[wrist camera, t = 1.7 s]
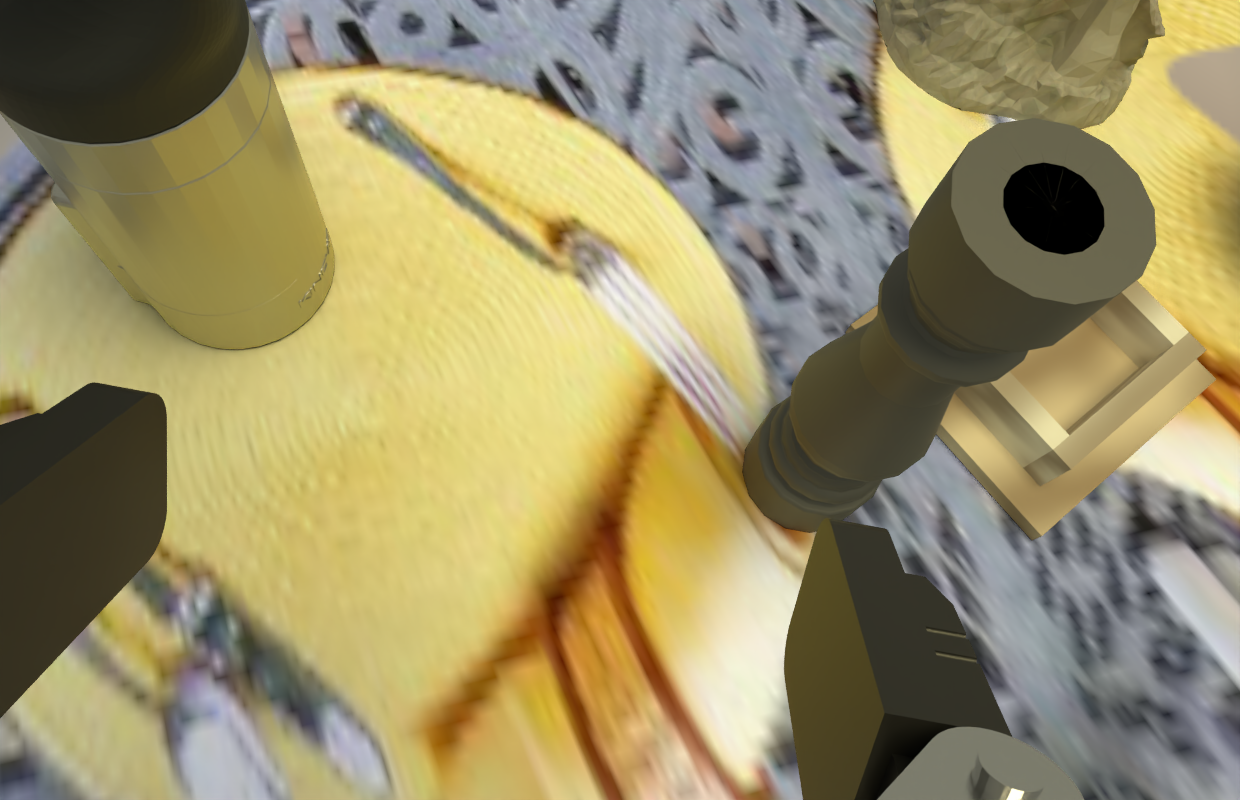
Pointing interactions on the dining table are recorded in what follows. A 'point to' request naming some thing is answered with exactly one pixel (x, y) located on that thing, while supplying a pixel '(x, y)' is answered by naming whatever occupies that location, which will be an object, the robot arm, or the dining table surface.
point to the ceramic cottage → (1022, 53)
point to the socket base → (1074, 408)
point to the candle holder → (955, 313)
